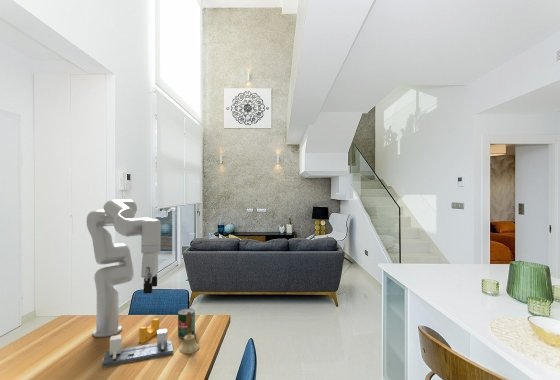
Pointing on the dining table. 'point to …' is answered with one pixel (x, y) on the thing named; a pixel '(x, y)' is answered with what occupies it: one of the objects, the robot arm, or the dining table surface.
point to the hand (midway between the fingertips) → (150, 289)
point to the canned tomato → (182, 322)
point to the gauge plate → (141, 351)
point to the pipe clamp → (148, 331)
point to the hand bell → (189, 338)
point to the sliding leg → (115, 345)
